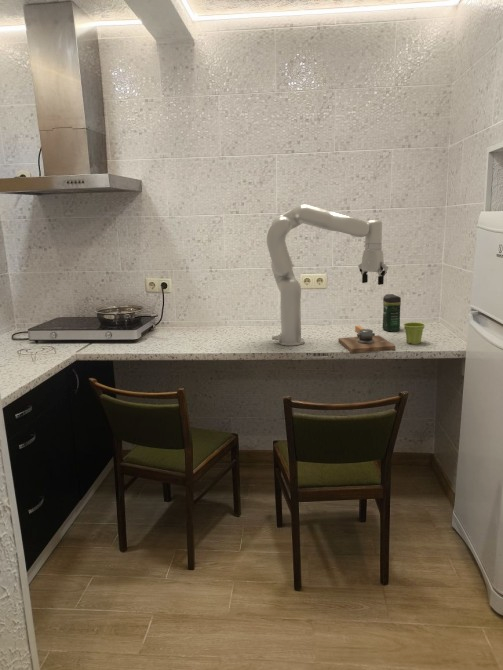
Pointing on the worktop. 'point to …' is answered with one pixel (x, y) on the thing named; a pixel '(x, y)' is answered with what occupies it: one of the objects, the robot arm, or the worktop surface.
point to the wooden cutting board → (366, 344)
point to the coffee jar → (391, 312)
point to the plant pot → (414, 332)
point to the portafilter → (364, 333)
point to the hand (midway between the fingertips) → (372, 283)
